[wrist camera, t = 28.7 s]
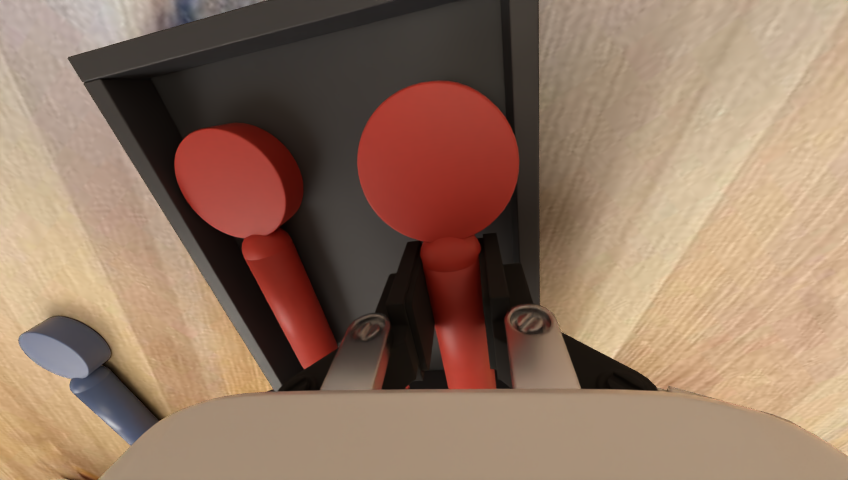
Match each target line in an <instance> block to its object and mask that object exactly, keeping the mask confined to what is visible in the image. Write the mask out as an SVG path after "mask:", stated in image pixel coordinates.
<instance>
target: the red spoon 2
mask: <svg viewBox="0 0 848 480" xmlns="http://www.w3.org/2000/svg"><path fill="white" fill-rule="evenodd" d="M357 166H358V175H359V179H360V184H361V187H362V189H363V192H364V194H365V196H366V198H367V201H368V202H369V204H370V205H371V207H372V208H373V210H374V211H375V212H376V214H377V215H378V216H379V217H380V218H381V219H382V220H383V221H384V222H385V223H386V224H388V225H389V226H390V227H392V228H393V229H394V230H396V231H398V232H399V233H401V234H403V235H405V236H408V237H410V238H413V239H416V240H420V241H423V243H422V246H421V252H420V257H421V260H422V265H423V270H424V275H425V279H426V284H427V289H428V293H429V298H430V303H431V307H432V312H433V317H434V321H435V329H436V334H437V338H438V343H439V348H440V352H441V357H442V361H443V366H444V371H445V375H446V380H447V385H448V389H496V380H495V370H494V369H490V363H489V355H488V346H487V337H486V328H485V319H484V311H483V301H482V290H481V277H480V264H479V253H480V251H481V246H480V243H479V241H478V239H477V238H476V236H475V234H476V233H478V232H480V231H482V230H483V229H485V228H486V227H487V226H489V225H490V224H491V223H492V222H493V221H494V220H495V219H496V218H497V217H498V216H499V215H500V214H501V213H502V211H503V210H504V209H505V207H506V206H507V204H508V203H509V201H510V199H511V197H512V194H513V192H514V190H515V186H516V183H517V179H518V173H519V153H518V146H517V142H516V138H515V136H514V133H513V131H512V128H511V126H510V124H509V123H508V121H507V119H506V117H505V116H504V115H503V113H502V112H501V111H500V110H499V108H498V107H497V106H496V105H495V104H494V103H492V102H491V101H490V100H489V99H488V98H487V97H486V96H484V95H483V94H482V93H480V92H479V91H477V90H475V89H473V88H471V87H469V86H467V85H464V84H461V83H458V82H452V81H429V82H421V83H418V84H414V85H411V86H408V87H406V88H404V89H401V90H399V91H398V92H396V93H394V94H393V95H391V96H390V97H389V98H387V99H386V100H385V101H384V102H383V103H382V104H380V106H379V107H378V108H377V109H376V110H375V111H374V113H373V114H372V116H371V117H370V119H369V120H368V122H367V124H366V126H365V128H364V130H363V132H362V136H361V139H360V142H359V148H358V156H357Z"/></svg>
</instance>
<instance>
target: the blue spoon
mask: <svg viewBox="0 0 848 480" xmlns="http://www.w3.org/2000/svg"><path fill="white" fill-rule="evenodd" d="M19 345H20V347H21V349H22V350H23V351H24V353H25V354H26V355H27V356H28V357H29V358H30V359H31V360H33V361H34V362H35V363H37V364H38V365H39V366H41V367H43V368H44V369H46V370H48V371H50V372H52V373H54V374H57V375H59V376H62V377H66V378H70V379H71V381H70V390H71V391H72V393H74V394H75V395H76V396H77V397H78V398H79V399H80V400H81V401H82V402H83V403H84V404H86V405H87V406H88V407H89V408H90V409H91V410H92V411H93V412H94V413H95V414H97V415H98V416H99V417H100V418H101V419H102V420H103V421H104V422H105V423H106V424H108V425H109V426H110V427H111V428H112V429H113V430H114V431H115V432H116V433H117V434H118V435H120V436H121V437H122V438H123V439H124V440H125V441H126V442H127V443H128V444H129V445H132V444H133V443H134V442H135V441H136V440H137V439H138V438H139V437H141V436H142V435H143V434H144V433H145V432H146V431H147V430H148V429H150V428H151V427H152V426H153V425H155V424H156V423H157V422H159V420H158V419H157V418H156V417H155V416H154V415H153V414H152V413H151V412H150V411H149V410H148V409H147V408H146V407H145V406H144V405H143V404H142V403H141V402H140V401H139V400H138V398H137V397H136V396H135V395H134V394H133V393H132V392H131V391H130V390H129V389H128V388H127V387H126V386H125V385H124V384H123V383H122V382H121V381H120V380H119V379H118V378H117V377H116V376H115V374H114V373H113V372H112V371H111V370H110V369H109V368H107V367H105V366H102V364H103V363H105V362H106V361H107V360H108V359H109V358H110V355H111V352H110V348H109V346H108V345H107V343H106V342H105V341H104V339H103V338H102V337H101V336H100V335H99V334H97V333H96V332H95V331H94V330H92V329H91V328H89V327H88V326H86V325H84V324H82V323H80V322H78V321H76V320H73V319H70V318H66V317H60V316H56V317H51V318H48V319H47V320H45V321H43V322H42V323H40V324H38V325H36V326H35V327H33V328H31V329H29V330H28V331H26V332H24V333H23V334H21V335H20V337H19Z"/></svg>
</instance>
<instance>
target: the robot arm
mask: <svg viewBox="0 0 848 480" xmlns="http://www.w3.org/2000/svg"><path fill="white" fill-rule="evenodd" d="M478 241H479V243H480V246H481V251H480V253H479V264H480V277H481V290H482V301H483V311H484V319H485V328H486V337H487V346H488V355H489V363H490V369H497V376H498V380H501V381H503V382H504V383H505V384H507V385H508V386H509V389H410V386H409V384H411V383H412V382H413V381H423V378H424V371H428V370H429V369H430V362H431V353H432V345H433V337H434V328H435V321H434V317H433V312H432V307H431V303H430V298H429V293H428V289H427V284H426V279H425V275H424V270H423V265H422V260H421V257H420V252H421V246H422V241H410V242H407V244H406V247H405V250H404V253H403V256H402V258H401V261H400V264H399V267H398V270H397V273H392V274H390V275H389V277H388V279H387V282H386V284H385V287H384V290H383V292H382V295H381V298H380V300H379V303H378V305H377V308H376V311H375V313H368V314H365V315H362V316H360V317H359V318H357V319H355V320H354V321H353V322H352V323H351V324H350V325H349V327H348V329H347V331H346V333H345V335H344V337H343V339H342V342H341V344H340V346H339V348H337V349H336V350H334V351H333V352H331V353H329V354H328V355H326V356H325V357H323V358H322V359H320V360H318V361H317V362H315V363H314V364H312V365H311V366H309V367H307V368H306V369H304V370H303V371H301V372H300V373H298V374H296V375H295V376H293V377H292V378H290V379H289V380H288V381H286V382H285V383H284V384H283V385H282V386H281V387H280V388H279V390H278V391H277V392H275V390H274V389H273V390H270V391H267V392H259V393H243V394H236V395H230V396H223V397H219V398H215V399H211V400H206V401H203V402H201V403H198V404H195V405H192V406H189V407H187V408H184V409H182V410H179V411H177V412H175V413H173V414H171V415H169V416H167V417H165V418H163V419H162V420H160V421H159V422H157V423H156V424H155V425H153V426H152V427H151V428H150V429H148V430H147V431H146V432H145V433H144V434H143V435H142V436H141V437H139V438H138V439H137V440H136V441H135V442H134V443H133V444H132V445H131V446H130V447H129V448H128V449H127V450H126V451H125V452H124V453H123V454H122V455H121V456H120V457H119V458H118V459H117V460H116V461H115V462H114V463H113V464H112V465H111V466H110V467H109V468H108V469H107V470H106V471H105V472H104V474H103V475H102V476H101V477H100V478H99V479H98V480H848V456H847V455H845V454H844V453H843V452H841V451H840V450H838V449H837V448H836V447H834V446H832V445H831V444H829V443H828V442H826V441H824V440H823V439H821V438H820V437H818V436H816V435H815V434H813V433H811V432H809V431H807V430H805V429H803V428H801V427H800V426H798V425H796V424H795V423H793V422H791V421H789V420H786V419H784V418H781V417H778V416H776V415H773V414H769V413H766V412H762V411H758V410H755V409H751V408H747V407H744V406H740V405H736V404H733V403H729V402H725V401H722V400H718V399H714V398H711V397H707V396H703V395H700V394H696V393H693V392H689V391H685V390H682V389H678V388H674V387H671V386H668V388H667V390H664V389H660V388H657V387H656V386H655V385H654V384H653V383H652V382H651V381H650V380H649V379H648V378H646V377H645V376H643V375H642V374H640V373H639V372H637V371H635V370H633V369H631V368H629V367H627V366H625V365H623V364H621V363H619V362H618V361H616V360H614V359H612V358H610V357H608V356H606V355H604V354H602V353H600V352H598V351H596V350H595V349H593V348H591V347H589V346H587V345H585V344H583V343H581V342H579V341H577V340H575V339H573V338H571V337H570V336H568V335H566V334H564V333H562V332H561V331H560V328H559V325H558V322H557V320H556V318H555V316H554V314H553V313H552V312H551V311H549V310H548V309H547V308H545V307H542V306H540V305H536V304H533V300H532V297H531V294H530V291H529V287H528V284H527V281H526V277H525V274H524V271H523V267H522V264H521V263H511V264H503V262H502V257H501V252H500V247H499V243H498V238H497V233H487V234H483V238H478Z"/></svg>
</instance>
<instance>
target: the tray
mask: <svg viewBox="0 0 848 480" xmlns="http://www.w3.org/2000/svg"><path fill="white" fill-rule="evenodd" d="M68 60H69V61H70V63H71V65H72V66H73V68H74V69H75V71H76V73H77V74H78V76H79V77H80V79H81V81H82V82H85V83H84V85H85V87H86V89H87V90H88V92H89V94H90V95H91V97H92V98H93V100H94V102H95V103H96V105H97V106H98V108H99V110H100V111H101V113H102V114H103V116H104V118H105V119H106V121H107V122H108V124H109V126H110V127H111V129H112V130H113V132H114V134H115V135H116V137H117V139H118V140H119V142H120V143H121V145H122V147H123V148H124V150H125V151H126V153H127V155H128V156H129V158H130V159H131V161H132V163H133V164H134V166H135V167H136V169H137V171H138V172H139V174H140V175H141V177H142V179H143V180H144V182H145V184H146V185H147V187H148V188H149V190H150V192H151V193H152V195H153V196H154V198H155V200H156V201H157V203H158V204H159V206H160V208H161V209H162V211H163V212H164V214H165V216H166V217H167V219H168V221H169V222H170V224H171V225H172V227H173V229H174V230H175V232H176V233H177V235H178V237H179V238H180V240H181V241H182V243H183V245H184V246H185V248H186V249H187V251H188V253H189V254H190V256H191V257H192V259H193V261H194V262H195V264H196V266H197V267H198V269H199V270H200V272H201V274H202V275H203V277H204V278H205V280H206V282H207V283H208V285H209V286H210V288H211V290H212V291H213V293H214V294H215V296H216V298H217V299H218V301H219V303H220V304H221V306H222V307H223V309H224V311H225V312H226V314H227V315H228V317H229V319H230V320H231V322H232V323H233V325H234V327H235V328H236V330H237V331H238V333H239V335H240V336H241V338H242V339H243V341H244V343H245V344H246V346H247V348H248V349H249V351H250V352H251V354H252V356H253V357H254V359H255V360H256V362H257V364H258V365H259V367H260V368H261V370H262V372H263V373H264V375H265V376H266V378H267V380H268V381H269V383H270V385H271V386H272V388H273V389H274V390H275V392H277V391H278V390H279V388H280V387H281V386H282V385H283V384H284V383H285V382H286V381H288V380H289V379H290V378H292V377H293V376H295V375H296V374H298V373H300V372H301V371H303V370H304V368H303V367H302V365H301V364H300V362H299V360H298V358H297V356H296V354H295V352H294V351H293V349H292V347H291V345H290V343H289V341H288V339H287V337H286V336H285V334H284V332H283V330H282V328H281V326H280V324H279V322H278V321H277V319H276V317H275V315H274V313H273V311H272V309H271V307H270V305H269V304H268V302H267V300H266V298H265V296H264V294H263V292H262V290H261V289H260V287H259V285H258V283H257V281H256V279H255V277H254V275H253V274H252V272H251V270H250V268H249V266H248V264H247V262H246V260H245V259H244V256H243V254H242V243H243V240H244V238H238V237H234V236H231V235H228V234H226V233H223V232H221V231H219V230H218V229H216V228H214V227H213V226H211V225H210V224H208V223H207V222H206V221H204V220H203V219H202V218H201V217H200V216H199V215H198V214H197V213H196V212H195V211H194V210H193V209H192V207H191V206H190V205H189V203H188V202H187V201H186V199H185V197H184V196H183V194H182V192H181V190H180V188H179V185H178V183H177V179H176V175H175V168H174V160H175V154H176V151H177V148H178V146H179V144H180V143H181V142H182V140H183V139H184V138H185V137H186V136H187V135H189V134H190V133H192V132H194V131H196V130H199V129H203V128H208V127H213V126H218V125H223V124H229V123H245V124H250V125H253V126H256V127H259V128H261V129H263V130H265V131H267V132H268V133H270V134H271V135H273V136H274V137H275V138H277V139H278V140H279V141H280V142H281V143H282V144H283V145H284V146H285V147H286V148H287V149H288V150H289V152H290V153H291V155H292V156H293V158H294V159H295V161H296V163H297V165H298V167H299V169H300V172H301V176H302V180H303V198H302V202H301V205H300V207H299V209H298V210H297V212H296V213H295V214H294V215H293V216H292V217H291V218H290V219H289V220H287V221H286V222H285V223H284V224H282V225H281V226H280V228H282V229H283V230H285V231H286V232H287V233H288V234H289V236H290V237H291V239H292V241H293V243H294V246H295V248H296V250H297V252H298V255H299V257H300V259H301V262H302V264H303V266H304V269H305V271H306V273H307V276H308V278H309V280H310V282H311V285H312V287H313V289H314V292H315V294H316V296H317V299H318V301H319V303H320V305H321V308H322V310H323V312H324V315H325V317H326V319H327V322H328V324H329V326H330V329H331V331H332V333H333V335H334V338H335V340H336V342H337V345H338V348H339V346H340V344H341V342H342V339H343V337H344V335H345V333H346V331H347V329H348V327H349V325H350V324H351V323H352V322H353V321H354V320H355V319H357V318H359V317H360V316H362V315H365V314H368V313H375V311H376V308H377V305H378V303H379V300H380V298H381V295H382V292H383V290H384V287H385V284H386V282H387V279H388V277H389V275H390V274H392V273H397V270H398V267H399V264H400V261H401V258H402V256H403V253H404V250H405V247H406V244H407V242H410V241H420V240H416V239H413V238H410V237H408V236H405V235H403V234H401V233H399V232H398V231H396V230H394V229H393V228H392V227H390V226H389V225H388V224H386V223H385V222H384V221H383V220H382V219H381V218H380V217H379V216H378V215H377V214H376V212H375V211H374V210H373V208H372V207H371V205H370V204H369V202H368V201H367V198H366V196H365V194H364V192H363V189H362V187H361V184H360V179H359V175H358V166H357V156H358V148H359V142H360V139H361V136H362V132H363V130H364V128H365V126H366V124H367V122H368V120H369V119H370V117H371V116H372V114H373V113H374V111H375V110H376V109H377V108H378V107H379V106H380V104H382V103H383V102H384V101H385V100H386V99H387V98H389V97H390V96H391V95H393V94H394V93H396V92H398V91H399V90H401V89H404V88H406V87H408V86H411V85H414V84H418V83H421V82H429V81H452V82H458V83H461V84H464V85H467V86H469V87H471V88H473V89H475V90H477V91H479V92H480V93H482V94H483V95H484V96H486V97H487V98H488V99H489V100H490V101H491V102H492V103H494V104H495V105H496V106H497V107H498V108H499V110H500V111H501V112H502V113H503V115H504V116H505V117H506V119H507V121H508V123H509V124H510V126H511V128H512V131H513V133H514V136H515V138H516V142H517V146H518V153H519V173H518V179H517V183H516V186H515V190H514V192H513V194H512V197H511V199H510V201H509V203H508V204H507V206H506V207H505V209H504V210H503V211H502V213H501V214H500V215H499V216H498V217H497V218H496V219H495V220H494V221H493V222H492V223H491V224H490V225H489V226H487V227H486V228H485V229H483V230H482V231H480V232H478V233H476V234H475V236H476V238H477V239H478V238H483V234H487V233H497V238H498V243H499V247H500V252H501V257H502V262H503V264H511V263H521V264H522V267H523V271H524V274H525V277H526V281H527V284H528V287H529V291H530V294H531V297H532V300H533V304H536V305H540V231H539V0H267V1H263V2H260V3H256V4H253V5H249V6H246V7H242V8H239V9H235V10H232V11H228V12H225V13H221V14H218V15H214V16H211V17H207V18H204V19H200V20H197V21H193V22H190V23H186V24H183V25H179V26H176V27H172V28H169V29H165V30H162V31H158V32H155V33H151V34H148V35H144V36H141V37H137V38H134V39H130V40H127V41H123V42H120V43H116V44H113V45H109V46H106V47H102V48H99V49H95V50H92V51H88V52H85V53H81V54H78V55H74V56H71V57H68ZM422 243H423V241H422ZM494 370H495V380H496V389H509V386H508V385H507V384H505V383H504V382H503V381H501V380H498V376H497V369H494ZM409 386H410V389H448V385H447V380H446V375H445V371H444V366H443V361H442V357H441V352H440V348H439V343H438V338H437V334H436V329H435V328H434V337H433V345H432V353H431V362H430V369H429V370H428V371H424V378H423V381H413V382H412V383H411V384H409Z"/></svg>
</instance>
